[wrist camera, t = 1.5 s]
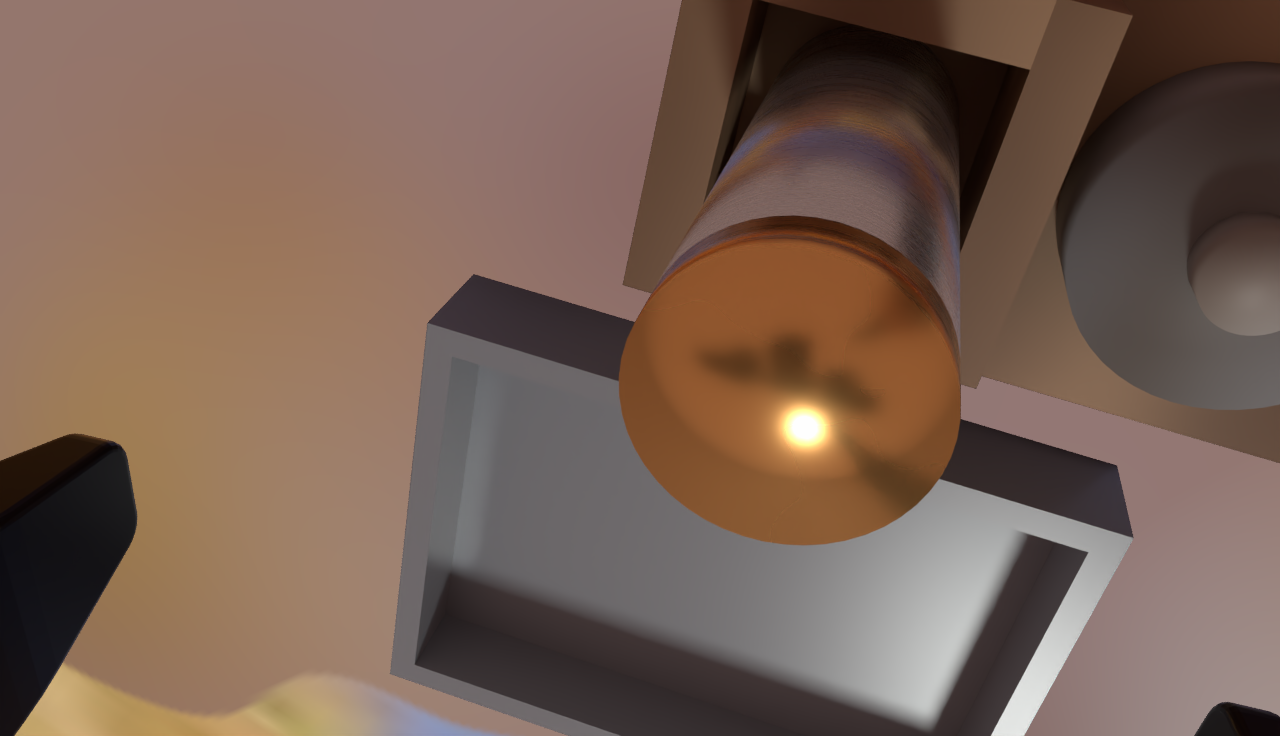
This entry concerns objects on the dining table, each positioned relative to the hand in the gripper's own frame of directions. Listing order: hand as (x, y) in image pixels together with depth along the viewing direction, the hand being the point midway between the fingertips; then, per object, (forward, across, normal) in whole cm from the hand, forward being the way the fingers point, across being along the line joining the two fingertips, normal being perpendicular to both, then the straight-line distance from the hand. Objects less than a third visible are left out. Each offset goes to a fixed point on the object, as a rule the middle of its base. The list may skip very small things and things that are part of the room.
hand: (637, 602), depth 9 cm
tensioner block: (+14, -4, 0) cm, 15 cm away
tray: (+13, -1, +11) cm, 17 cm away
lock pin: (+12, -1, 0) cm, 12 cm away
